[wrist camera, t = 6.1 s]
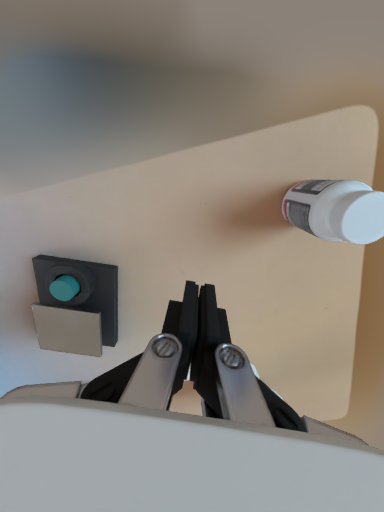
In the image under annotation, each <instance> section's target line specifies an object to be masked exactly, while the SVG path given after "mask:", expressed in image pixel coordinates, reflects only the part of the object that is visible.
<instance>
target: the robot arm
mask: <svg viewBox="0 0 384 512" xmlns="http://www.w3.org/2000/svg"><path fill="white" fill-rule="evenodd" d="M198 290H199V285H196V284H195V282H193V281H187V280H186V286H185V291H184V297H183V302H179V301H172V300H170V301H169V305H168V309H167V313H166V317H165V321H164V325H163V329H162V333H161V334H158V335H156V336H154V337H153V338H152V339H151V340H150V342H149V343H148V345H147V347H146V349H145V351H144V352H143V353H141V354H139V355H137V356H135V357H134V358H132V359H130V360H128V361H126V362H124V363H123V364H121V365H119V366H117V367H115V368H113V369H111V370H110V371H108V372H106V373H104V374H102V375H100V376H99V377H97V378H95V379H94V380H92V381H91V382H89V383H86V384H82V383H81V381H74V382H61V383H48V384H35V385H25V386H21V387H17V388H15V389H13V390H11V391H9V392H7V393H6V394H5V395H3V396H2V397H1V398H0V512H384V451H383V450H380V449H378V448H374V447H371V446H369V445H368V444H367V443H365V442H364V441H363V440H362V439H360V438H358V437H356V436H355V435H352V434H350V433H347V432H345V431H342V430H340V429H337V428H335V427H332V426H330V425H327V424H325V423H322V422H320V421H317V420H315V419H312V418H310V417H307V416H305V415H303V417H302V418H301V417H299V416H298V414H297V413H296V412H295V411H294V410H293V409H292V408H291V407H290V406H289V405H288V404H287V403H286V402H285V401H283V400H282V399H281V398H280V397H279V396H278V395H277V394H276V393H275V392H273V391H272V390H271V389H270V388H269V387H268V386H267V385H266V384H264V383H263V382H262V381H261V380H260V379H259V378H258V377H257V376H256V375H255V374H254V372H253V369H252V367H251V365H250V362H249V360H248V357H247V356H246V354H245V352H244V351H243V350H242V349H241V348H239V347H238V346H236V345H233V344H232V343H231V338H230V332H229V327H228V321H227V315H226V311H225V309H221V308H217V302H216V294H215V286H214V285H211V284H205V285H204V286H202V285H201V288H200V293H199V298H198ZM190 363H191V365H190ZM189 367H190V381H194V383H193V389H196V391H197V392H198V393H199V395H200V396H201V397H202V398H201V406H202V414H203V416H198V415H191V414H185V413H178V412H171V411H169V409H170V406H171V402H172V398H173V395H174V394H175V393H177V392H178V391H179V390H180V389H182V386H183V382H184V380H187V376H188V371H189Z"/></svg>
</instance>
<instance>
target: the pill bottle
mask: <svg viewBox="0 0 384 512" xmlns="http://www.w3.org/2000/svg"><path fill="white" fill-rule="evenodd" d="M282 213H283V216H284V218H285V219H286V220H287V221H288V222H289V223H290V224H292V225H294V226H296V227H298V228H300V229H302V230H304V231H306V232H308V233H310V234H312V235H314V236H316V237H318V238H320V239H322V240H325V241H329V242H342V241H347V242H350V243H353V244H368V243H371V242H374V241H376V240H378V239H379V238H381V237H382V236H384V192H379V191H373V190H372V189H371V188H370V187H369V186H368V185H366V184H365V183H362V182H359V181H354V180H305V181H301V182H299V183H297V184H295V185H294V186H293V187H291V188H290V189H289V190H288V192H287V193H286V195H285V197H284V199H283V202H282Z"/></svg>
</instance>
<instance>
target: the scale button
mask: <svg viewBox="0 0 384 512" xmlns="http://www.w3.org/2000/svg"><path fill="white" fill-rule="evenodd" d="M49 289H50V292H51V294H52V295H53V296H54V297H55V298H56V299H58V300H61V301H68V300H70V299H71V298H72V297H74V296H75V295H76V294H77V293H78V292H79V290H80V285H79V282H78V281H77V280H76V279H75V278H74V277H72V276H69V275H63V276H61V277H59V278H58V279H56V280H55V281H53V282H52V283H51V284H50V288H49Z"/></svg>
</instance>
